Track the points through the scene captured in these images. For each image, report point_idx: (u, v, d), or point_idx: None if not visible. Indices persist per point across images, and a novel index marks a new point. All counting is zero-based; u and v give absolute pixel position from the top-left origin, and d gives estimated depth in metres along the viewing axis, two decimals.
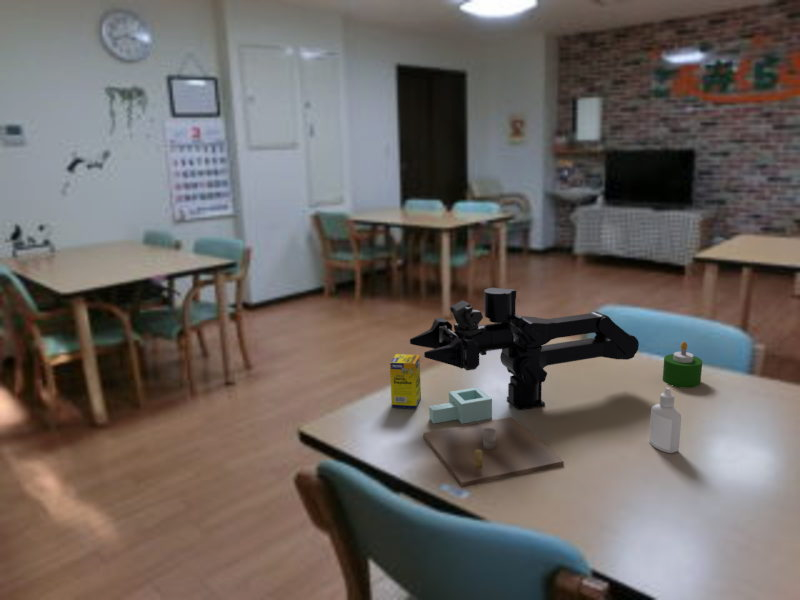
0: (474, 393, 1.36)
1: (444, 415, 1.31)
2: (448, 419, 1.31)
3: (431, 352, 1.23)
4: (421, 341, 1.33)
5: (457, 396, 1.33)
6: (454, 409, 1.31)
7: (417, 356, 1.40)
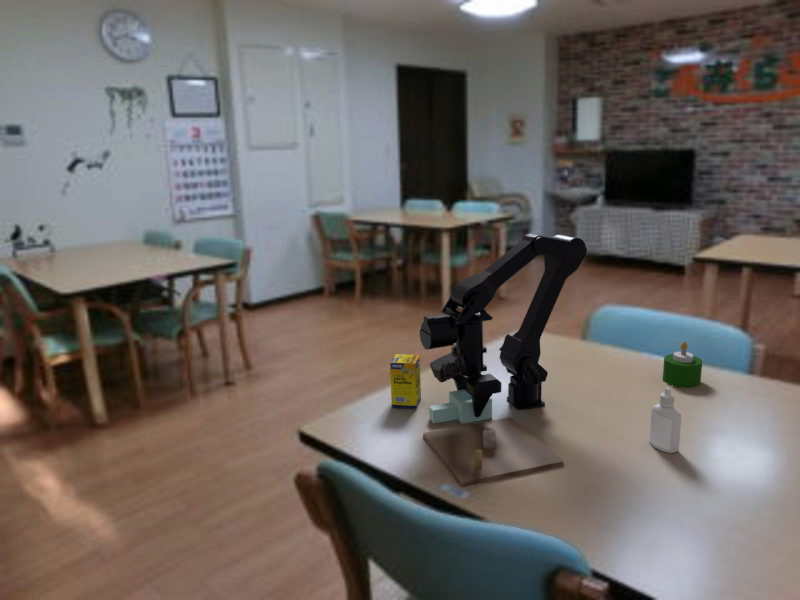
0: None
1: (444, 415, 1.31)
2: (448, 419, 1.31)
3: (476, 412, 1.29)
4: None
5: (457, 396, 1.33)
6: (454, 409, 1.31)
7: (417, 356, 1.40)
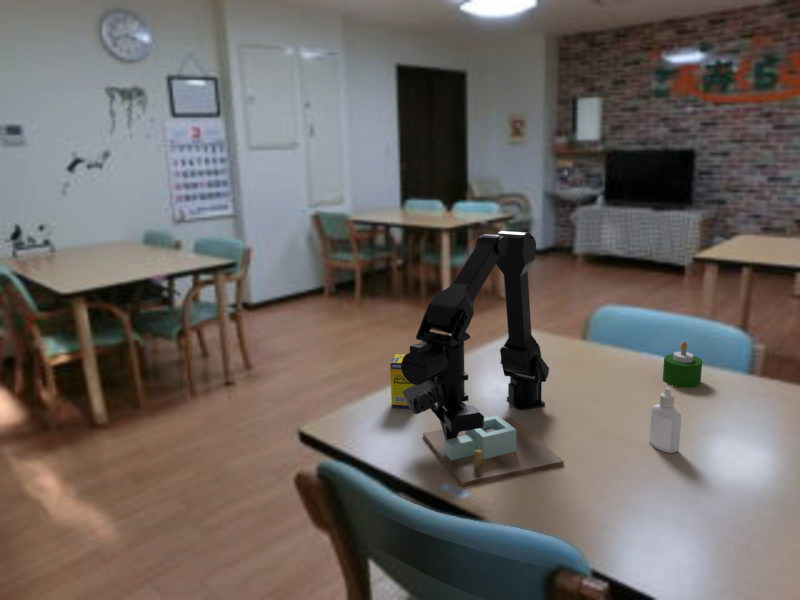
0: (493, 422, 1.20)
1: (463, 450, 1.14)
2: (467, 454, 1.15)
3: None
4: None
5: None
6: (474, 443, 1.15)
7: None
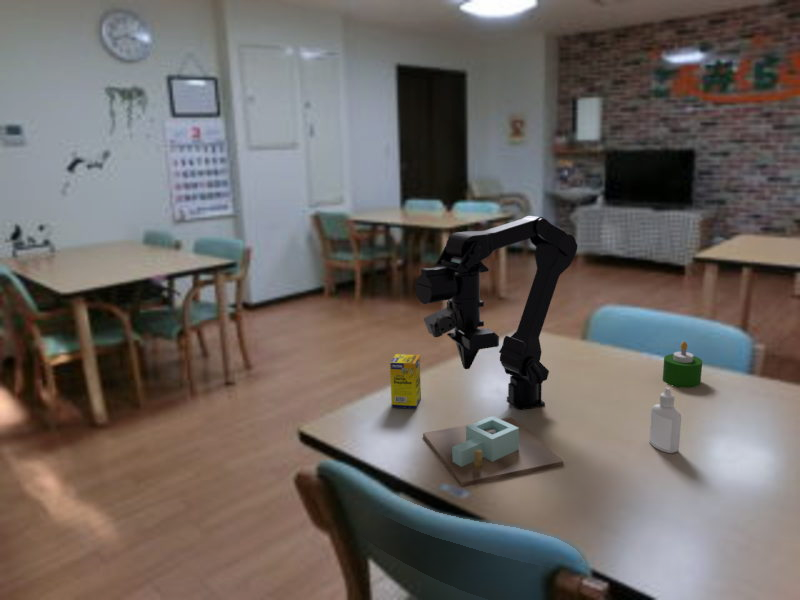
0: (491, 423, 1.19)
1: (471, 455, 1.12)
2: None
3: (465, 364, 1.27)
4: None
5: (479, 430, 1.15)
6: (480, 446, 1.13)
7: (417, 356, 1.40)
